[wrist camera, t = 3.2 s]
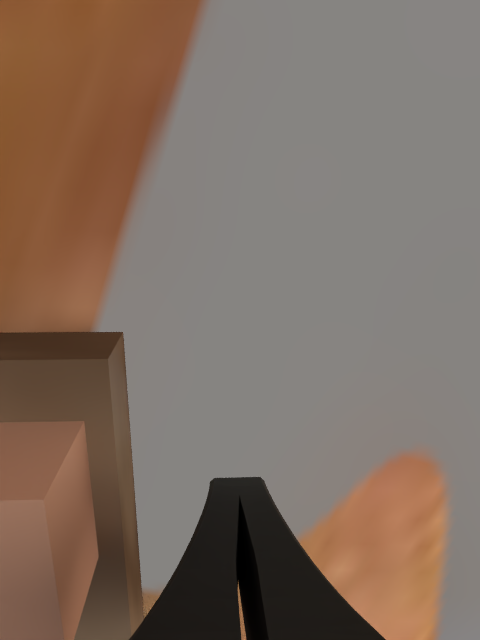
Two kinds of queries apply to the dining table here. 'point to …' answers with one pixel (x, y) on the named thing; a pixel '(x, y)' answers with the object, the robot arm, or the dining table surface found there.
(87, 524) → the block
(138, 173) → the dining table surface
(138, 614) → the board
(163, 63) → the dining table surface
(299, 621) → the robot arm
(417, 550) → the dining table surface
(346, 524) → the dining table surface
